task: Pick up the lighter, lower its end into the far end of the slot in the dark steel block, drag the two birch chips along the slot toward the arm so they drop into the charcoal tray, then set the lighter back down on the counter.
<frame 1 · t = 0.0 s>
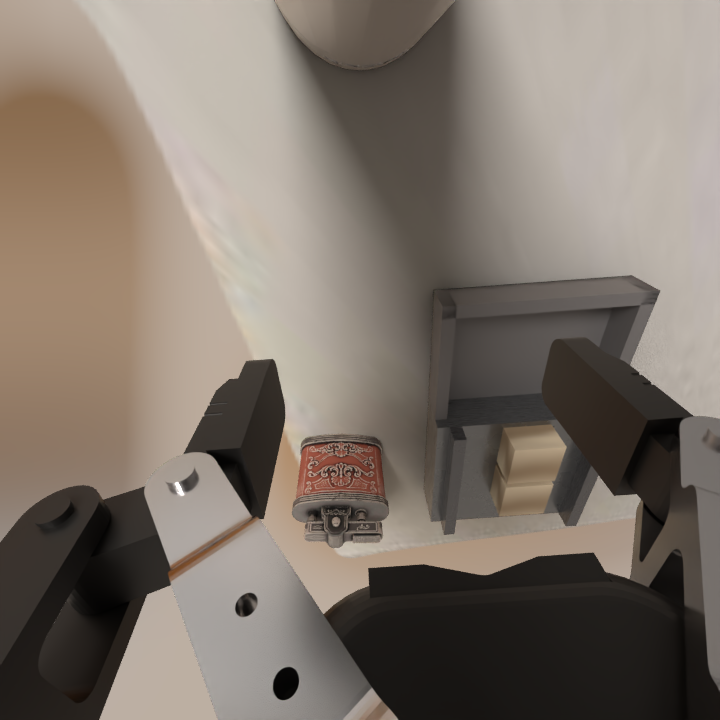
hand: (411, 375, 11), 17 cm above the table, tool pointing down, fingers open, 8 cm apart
chip b: (514, 477, 34), point 4 cm above the table, touching slot block
tray: (520, 342, 31), on the table
chip a: (523, 443, 31), point 4 cm above the table, touching slot block
slot block: (499, 442, 37), on the table
lighter: (341, 444, 37), on the table
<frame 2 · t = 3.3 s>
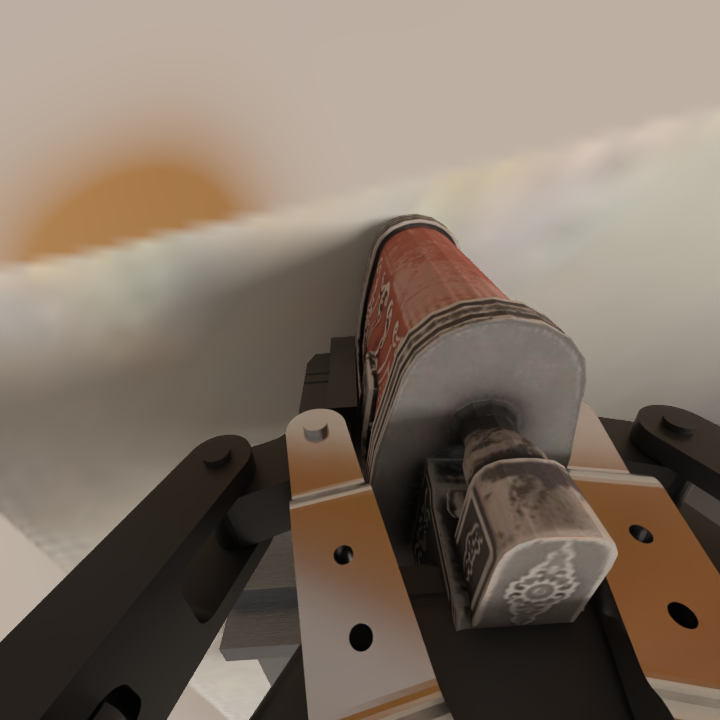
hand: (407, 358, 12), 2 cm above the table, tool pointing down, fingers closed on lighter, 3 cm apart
tray: (589, 565, 21), on the table
slot block: (387, 578, 21), on the table
lighter: (402, 331, 13), on the table, touching gripper
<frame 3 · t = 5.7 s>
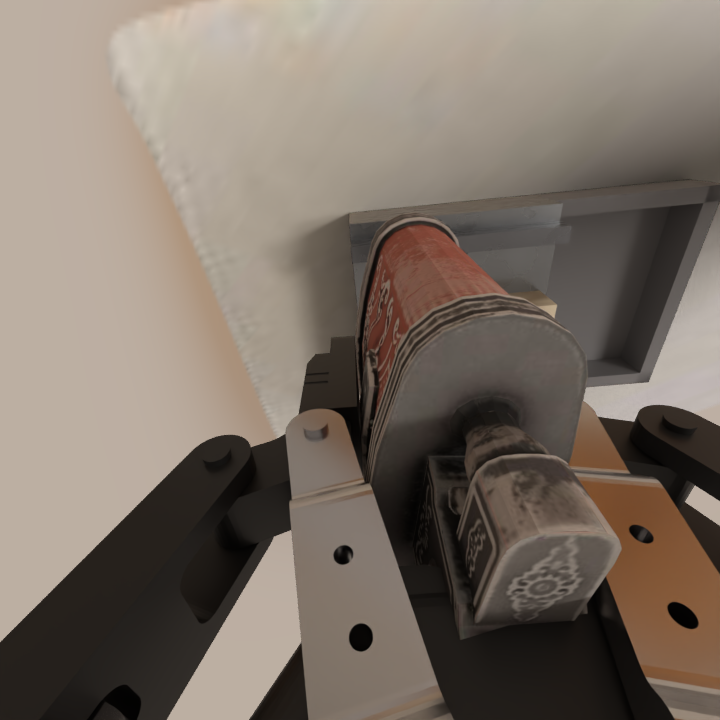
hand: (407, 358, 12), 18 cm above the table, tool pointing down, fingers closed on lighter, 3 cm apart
tray: (585, 289, 29), on the table
chip a: (506, 319, 26), point 4 cm above the table, touching slot block
slot block: (438, 303, 30), on the table
lighter: (402, 329, 13), point 16 cm above the table, touching gripper
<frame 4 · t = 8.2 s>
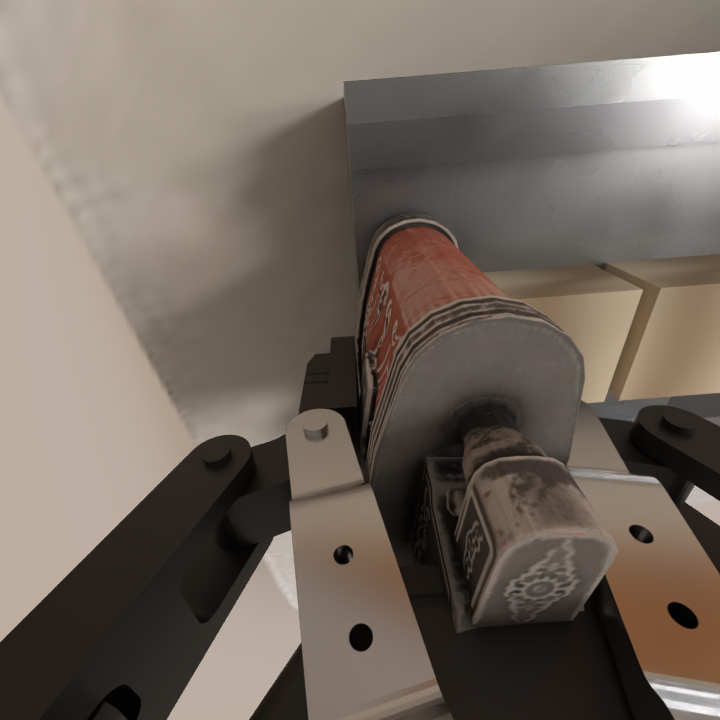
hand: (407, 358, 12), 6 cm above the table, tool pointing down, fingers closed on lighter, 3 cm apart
chip b: (523, 321, 13), point 4 cm above the table, touching gripper, slot block
chip a: (645, 312, 13), point 4 cm above the table, touching slot block
slot block: (497, 284, 17), on the table
lighter: (401, 330, 13), point 4 cm above the table, touching gripper
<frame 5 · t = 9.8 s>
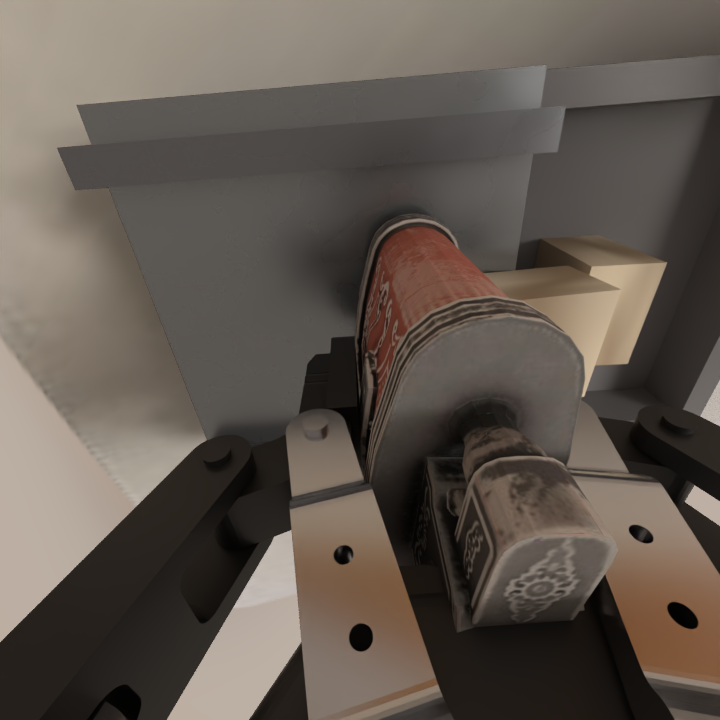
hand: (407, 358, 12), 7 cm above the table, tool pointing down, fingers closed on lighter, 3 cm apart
chip b: (505, 322, 14), point 4 cm above the table, tilted 8°, touching gripper, slot block
tray: (590, 274, 17), on the table
chip a: (551, 299, 15), point 2 cm above the table, tilted 90°, touching tray
slot block: (339, 291, 17), on the table
lighter: (401, 330, 13), point 5 cm above the table, touching gripper
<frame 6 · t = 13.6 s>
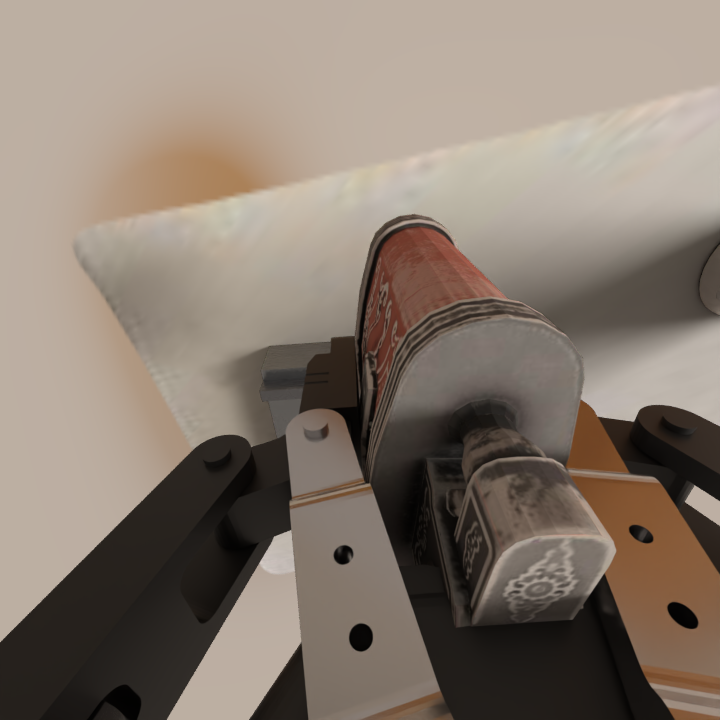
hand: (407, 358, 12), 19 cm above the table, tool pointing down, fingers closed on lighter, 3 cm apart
slot block: (348, 406, 37), on the table
lighter: (401, 331, 13), point 17 cm above the table, touching gripper
when the fingers open (3 cm above the table, at t = 16.9 s): lighter drops 1 cm, on the table.
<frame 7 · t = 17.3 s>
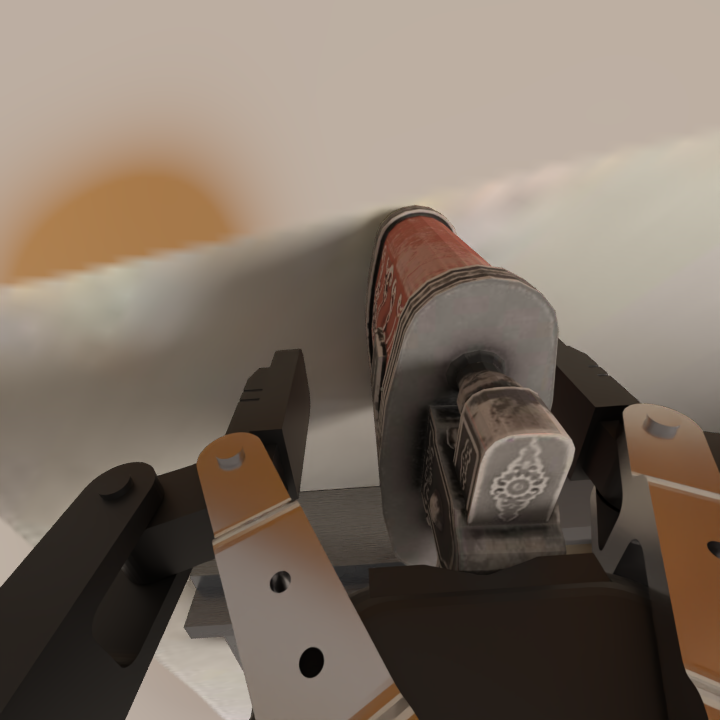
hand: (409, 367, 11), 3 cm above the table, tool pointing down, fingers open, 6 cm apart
tray: (539, 556, 23), on the table
slot block: (352, 569, 23), on the table
lighter: (408, 315, 14), on the table
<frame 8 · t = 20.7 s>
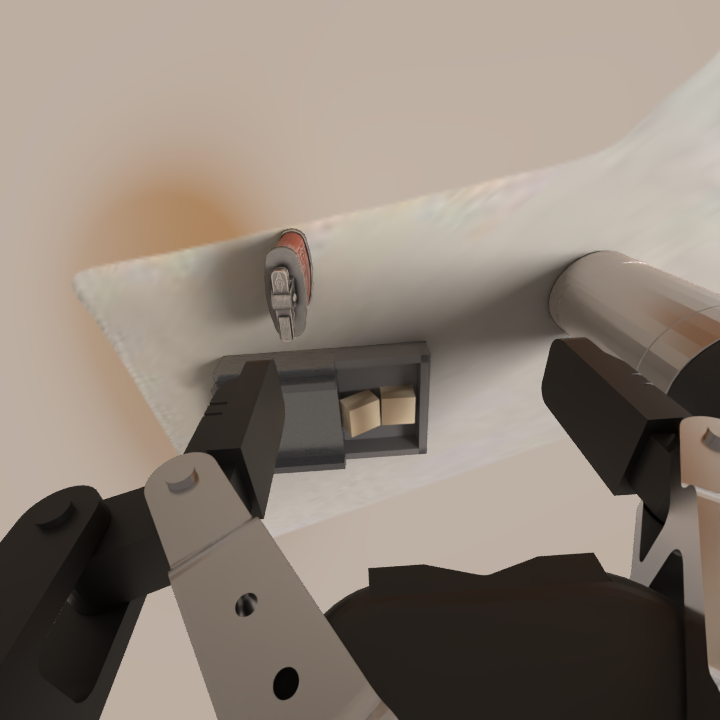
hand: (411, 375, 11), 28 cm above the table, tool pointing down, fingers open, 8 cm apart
chip b: (355, 407, 45), point 1 cm above the table, tilted 28°, touching slot block, tray
tray: (382, 396, 46), on the table
chip a: (398, 411, 44), point 3 cm above the table, tilted 180°, touching tray
slot block: (289, 403, 46), on the table
lighter: (296, 268, 38), on the table
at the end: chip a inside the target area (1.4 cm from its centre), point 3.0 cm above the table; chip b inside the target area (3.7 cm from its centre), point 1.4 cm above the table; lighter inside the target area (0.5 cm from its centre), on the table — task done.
